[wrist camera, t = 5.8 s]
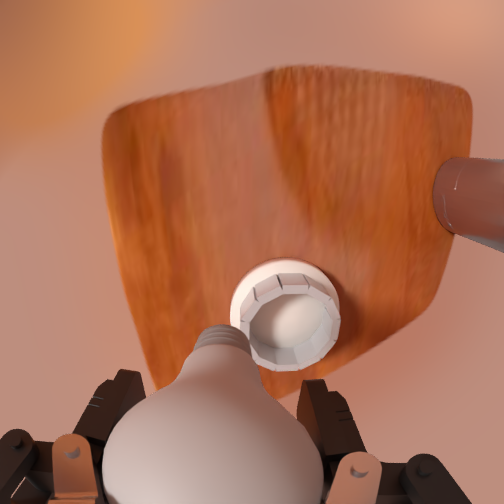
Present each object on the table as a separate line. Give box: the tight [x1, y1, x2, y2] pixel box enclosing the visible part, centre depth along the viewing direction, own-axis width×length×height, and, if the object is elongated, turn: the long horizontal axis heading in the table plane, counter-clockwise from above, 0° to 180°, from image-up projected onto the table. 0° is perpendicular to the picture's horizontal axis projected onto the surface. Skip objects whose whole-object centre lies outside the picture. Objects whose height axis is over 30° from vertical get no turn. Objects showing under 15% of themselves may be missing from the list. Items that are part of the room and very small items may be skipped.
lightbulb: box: [102, 325, 324, 504], centre depth 8 cm, size 6×6×11 cm
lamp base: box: [230, 257, 341, 371], centre depth 27 cm, size 11×11×5 cm
